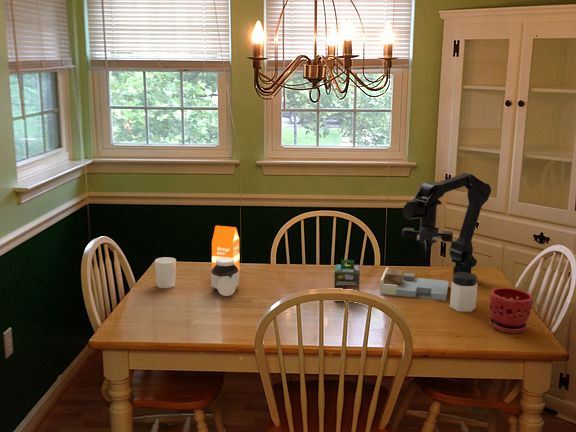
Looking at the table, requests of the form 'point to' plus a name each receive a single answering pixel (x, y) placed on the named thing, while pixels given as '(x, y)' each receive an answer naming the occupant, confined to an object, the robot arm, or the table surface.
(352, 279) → the chalk box
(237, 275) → the spread jar
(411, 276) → the gray block
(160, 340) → the table surface
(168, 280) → the white cup
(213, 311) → the table surface
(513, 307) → the plant pot
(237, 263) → the orange juice
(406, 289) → the deck
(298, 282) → the table surface
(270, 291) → the table surface
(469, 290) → the jar
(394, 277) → the walnut block
